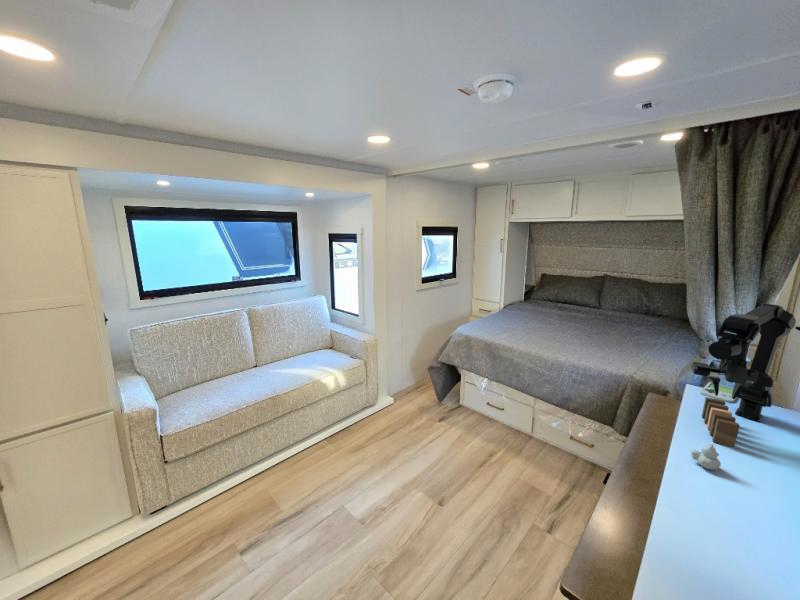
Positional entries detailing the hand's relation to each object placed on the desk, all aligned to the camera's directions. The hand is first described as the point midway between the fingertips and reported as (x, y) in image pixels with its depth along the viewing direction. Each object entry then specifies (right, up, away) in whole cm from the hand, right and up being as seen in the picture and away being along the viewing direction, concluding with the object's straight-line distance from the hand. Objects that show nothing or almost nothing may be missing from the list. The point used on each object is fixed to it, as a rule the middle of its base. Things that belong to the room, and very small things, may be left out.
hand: (724, 396), depth 110 cm
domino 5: (-4, -14, -4) cm, 15 cm away
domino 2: (+2, -12, +6) cm, 14 cm away
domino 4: (-2, -13, 0) cm, 14 cm away
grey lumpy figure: (-19, -17, -13) cm, 29 cm away
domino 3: (0, -13, +3) cm, 13 cm away
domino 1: (+4, -11, +9) cm, 15 cm away
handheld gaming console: (+26, -7, +28) cm, 38 cm away
